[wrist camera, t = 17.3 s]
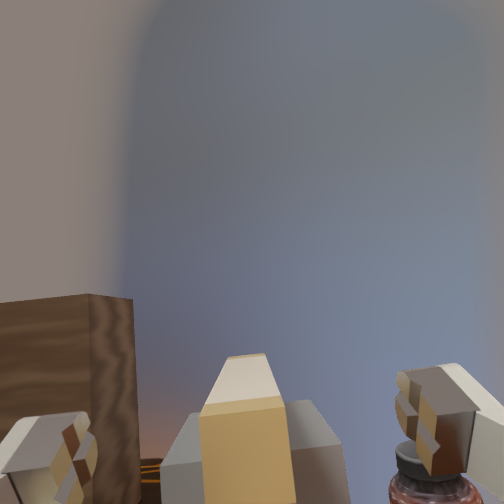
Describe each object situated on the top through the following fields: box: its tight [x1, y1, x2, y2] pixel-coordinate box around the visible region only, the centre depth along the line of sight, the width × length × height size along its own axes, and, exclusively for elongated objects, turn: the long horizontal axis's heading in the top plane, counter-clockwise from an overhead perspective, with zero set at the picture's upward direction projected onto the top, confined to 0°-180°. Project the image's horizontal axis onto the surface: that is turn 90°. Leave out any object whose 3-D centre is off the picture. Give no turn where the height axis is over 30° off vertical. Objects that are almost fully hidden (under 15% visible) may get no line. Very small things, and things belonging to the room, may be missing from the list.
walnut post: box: [0, 294, 142, 504], centre depth 40 cm, size 14×10×26 cm
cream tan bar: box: [199, 353, 296, 504], centre depth 24 cm, size 20×4×4 cm, turn 0°
